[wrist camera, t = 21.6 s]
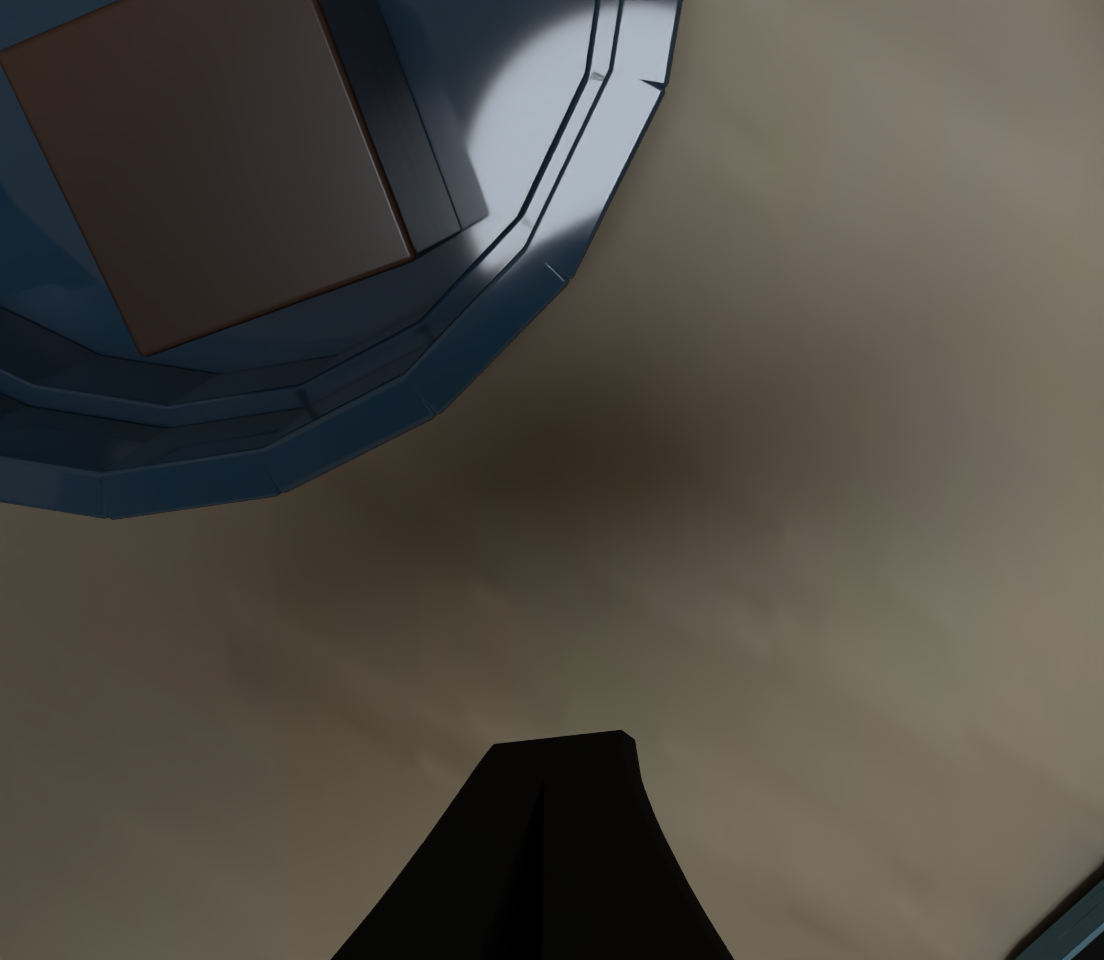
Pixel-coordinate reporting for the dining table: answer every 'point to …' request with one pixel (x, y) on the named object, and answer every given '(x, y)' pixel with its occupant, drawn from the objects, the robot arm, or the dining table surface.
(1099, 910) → the smartphone
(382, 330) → the teal bowl
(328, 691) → the dining table surface
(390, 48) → the walnut block
